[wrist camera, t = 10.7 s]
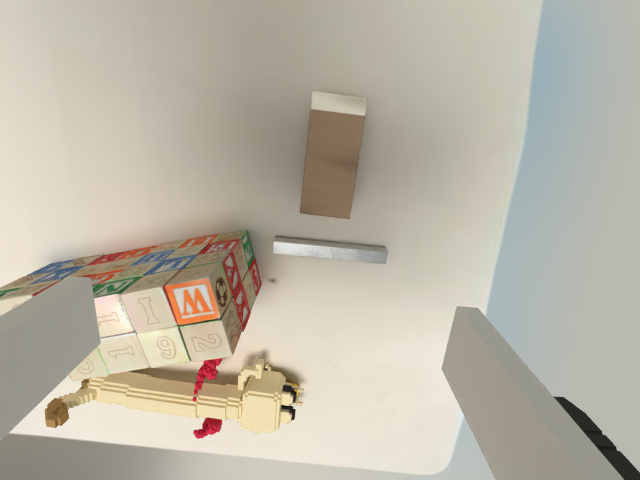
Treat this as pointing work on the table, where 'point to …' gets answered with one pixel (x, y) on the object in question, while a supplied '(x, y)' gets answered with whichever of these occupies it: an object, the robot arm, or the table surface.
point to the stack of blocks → (158, 301)
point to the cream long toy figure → (193, 398)
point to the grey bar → (329, 250)
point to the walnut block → (332, 154)
